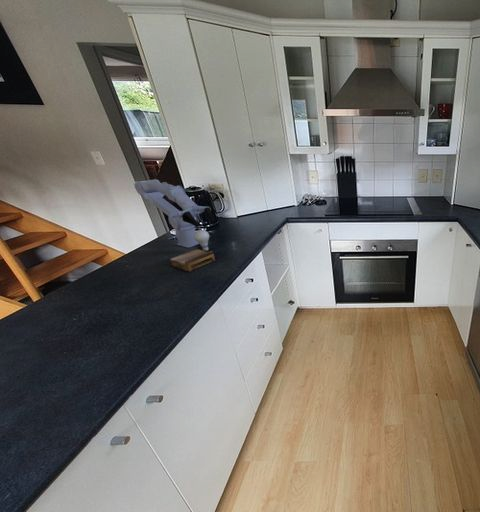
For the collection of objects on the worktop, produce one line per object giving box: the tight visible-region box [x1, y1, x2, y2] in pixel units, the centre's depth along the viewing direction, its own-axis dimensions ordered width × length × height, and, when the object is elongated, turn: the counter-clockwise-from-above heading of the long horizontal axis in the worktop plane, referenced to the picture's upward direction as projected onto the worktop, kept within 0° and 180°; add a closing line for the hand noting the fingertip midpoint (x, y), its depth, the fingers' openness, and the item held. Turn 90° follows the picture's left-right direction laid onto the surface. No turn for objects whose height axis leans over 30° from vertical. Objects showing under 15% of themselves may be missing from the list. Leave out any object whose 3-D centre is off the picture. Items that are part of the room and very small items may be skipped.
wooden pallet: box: [170, 248, 216, 273], centre depth 123 cm, size 12×12×5 cm
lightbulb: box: [194, 229, 210, 252], centre depth 134 cm, size 6×6×11 cm
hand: (206, 223), depth 129 cm, fingers open, 7 cm apart
